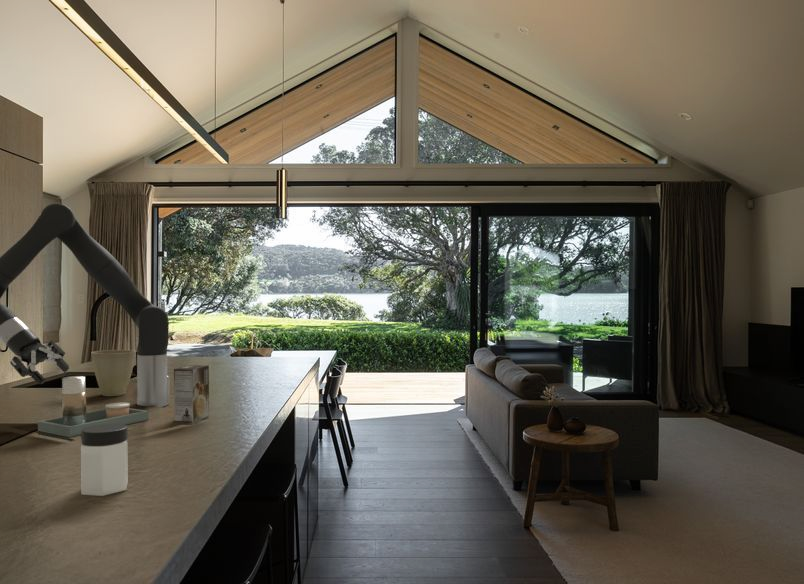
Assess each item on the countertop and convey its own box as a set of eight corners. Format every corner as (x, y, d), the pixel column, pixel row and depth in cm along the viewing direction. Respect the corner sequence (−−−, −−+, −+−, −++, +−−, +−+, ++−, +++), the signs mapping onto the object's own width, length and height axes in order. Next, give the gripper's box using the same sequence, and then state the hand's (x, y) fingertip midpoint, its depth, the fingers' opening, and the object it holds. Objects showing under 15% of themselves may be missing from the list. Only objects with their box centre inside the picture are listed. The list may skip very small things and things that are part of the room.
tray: (117, 418, 188) (117, 406, 188) (148, 423, 181) (148, 411, 181) (38, 434, 167) (37, 421, 167) (69, 440, 160) (69, 427, 160)
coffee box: (190, 417, 189) (190, 364, 188) (209, 418, 187) (209, 365, 187) (173, 424, 180) (173, 368, 179) (193, 425, 178) (193, 369, 178)
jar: (118, 479, 127) (117, 421, 127) (137, 487, 122) (137, 426, 122) (72, 490, 121) (71, 428, 121) (90, 499, 115) (90, 435, 115)
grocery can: (78, 425, 173) (77, 375, 172) (91, 427, 170) (90, 376, 170) (58, 430, 168) (57, 378, 168) (71, 432, 165) (70, 379, 165)
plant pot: (124, 398, 222) (124, 353, 221) (83, 398, 222) (83, 353, 222) (142, 391, 236) (142, 349, 236) (104, 391, 237) (103, 349, 237)
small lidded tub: (120, 417, 184) (120, 401, 184) (134, 419, 181) (134, 403, 181) (100, 421, 179) (100, 405, 179) (115, 423, 176) (115, 407, 176)
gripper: (0, 337, 176) (40, 379, 176) (42, 320, 189) (79, 359, 188) (-9, 353, 179) (29, 393, 179) (33, 335, 192) (69, 373, 192)
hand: (55, 376), depth 184 cm, fingers open, 8 cm apart
